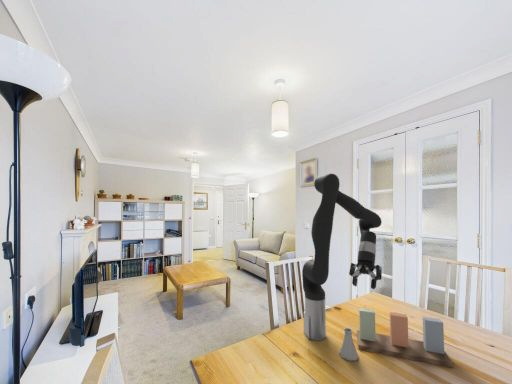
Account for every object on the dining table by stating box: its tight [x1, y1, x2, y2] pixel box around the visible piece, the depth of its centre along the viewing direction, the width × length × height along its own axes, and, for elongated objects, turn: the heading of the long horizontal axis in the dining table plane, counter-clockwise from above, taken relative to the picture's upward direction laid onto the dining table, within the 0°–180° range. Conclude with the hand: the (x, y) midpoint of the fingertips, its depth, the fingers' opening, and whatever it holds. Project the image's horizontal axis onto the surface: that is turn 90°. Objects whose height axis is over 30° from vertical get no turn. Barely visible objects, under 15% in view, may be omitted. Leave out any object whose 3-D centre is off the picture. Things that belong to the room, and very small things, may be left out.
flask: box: [338, 327, 359, 362], centre depth 94 cm, size 7×7×10 cm
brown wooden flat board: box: [356, 329, 454, 369], centre depth 98 cm, size 32×12×2 cm, turn 70°
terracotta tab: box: [389, 311, 409, 348], centre depth 98 cm, size 6×3×12 cm, turn 70°
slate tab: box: [422, 316, 445, 354], centre depth 94 cm, size 6×3×12 cm, turn 70°
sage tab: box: [358, 307, 376, 342], centre depth 102 cm, size 6×3×12 cm, turn 70°
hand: (363, 287), depth 107 cm, fingers open, 8 cm apart
